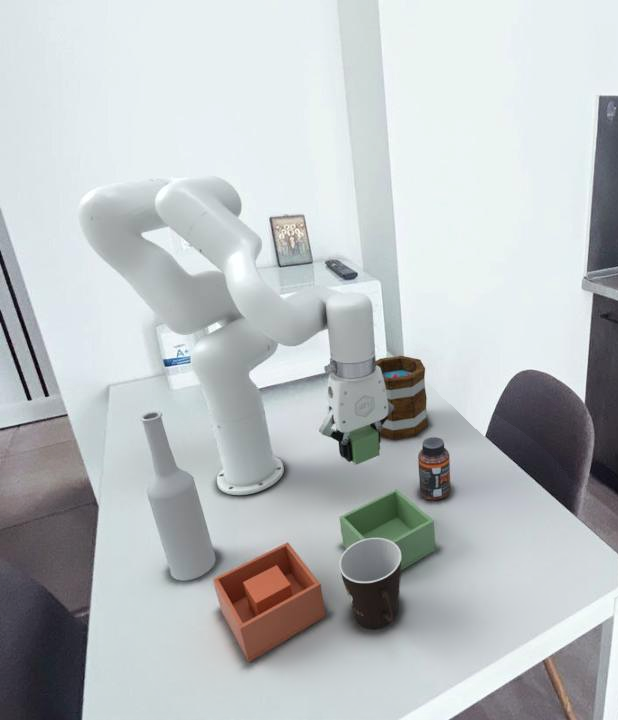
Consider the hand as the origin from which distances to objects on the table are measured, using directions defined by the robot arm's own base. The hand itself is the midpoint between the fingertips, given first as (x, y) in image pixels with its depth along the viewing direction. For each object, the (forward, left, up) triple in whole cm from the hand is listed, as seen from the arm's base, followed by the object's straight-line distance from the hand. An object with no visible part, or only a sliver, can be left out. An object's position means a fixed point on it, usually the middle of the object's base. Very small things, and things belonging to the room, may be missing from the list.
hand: (360, 451), depth 102 cm
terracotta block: (+15, -25, -9) cm, 30 cm away
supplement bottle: (+9, +10, -10) cm, 17 cm away
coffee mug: (+27, -14, -10) cm, 32 cm away
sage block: (0, 0, 0) cm, 0 cm away
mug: (-17, +16, -10) cm, 26 cm away
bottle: (-2, -31, -10) cm, 32 cm away
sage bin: (+16, -5, -10) cm, 19 cm away
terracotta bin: (+16, -25, -10) cm, 31 cm away
